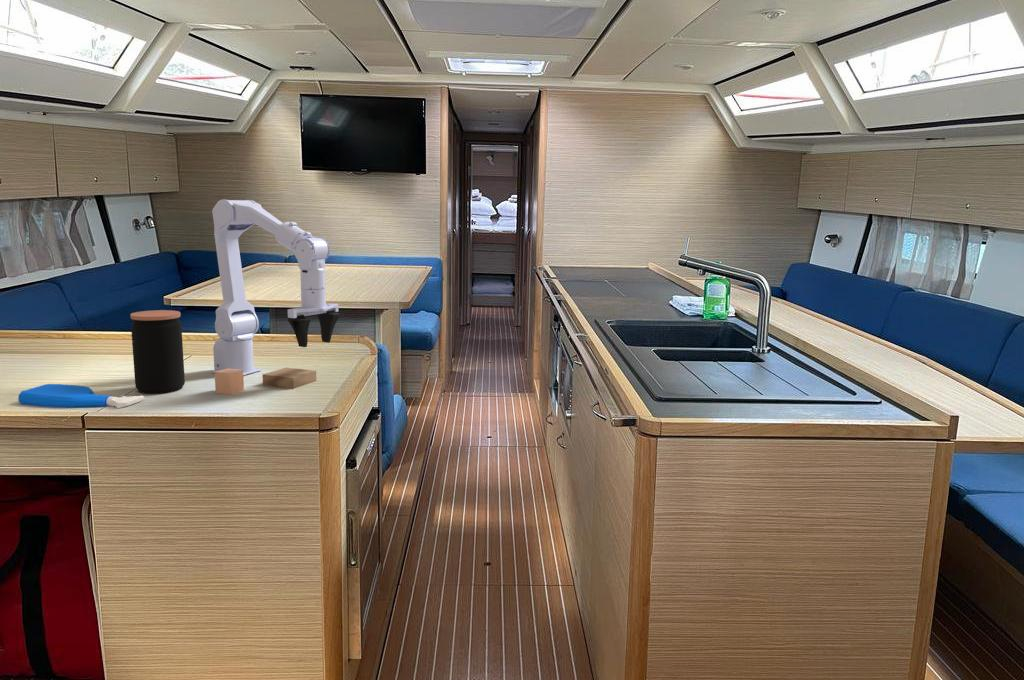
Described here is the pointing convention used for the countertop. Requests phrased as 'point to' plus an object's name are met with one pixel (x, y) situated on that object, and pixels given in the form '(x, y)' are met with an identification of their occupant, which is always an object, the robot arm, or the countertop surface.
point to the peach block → (229, 381)
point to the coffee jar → (157, 351)
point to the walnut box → (289, 378)
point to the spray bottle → (72, 397)
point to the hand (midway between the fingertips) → (314, 344)
